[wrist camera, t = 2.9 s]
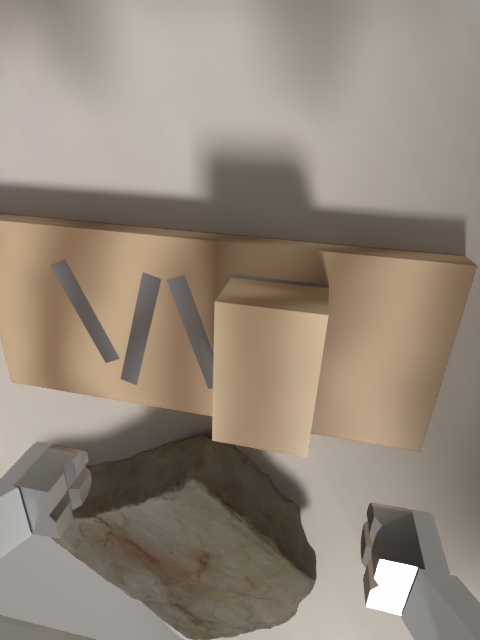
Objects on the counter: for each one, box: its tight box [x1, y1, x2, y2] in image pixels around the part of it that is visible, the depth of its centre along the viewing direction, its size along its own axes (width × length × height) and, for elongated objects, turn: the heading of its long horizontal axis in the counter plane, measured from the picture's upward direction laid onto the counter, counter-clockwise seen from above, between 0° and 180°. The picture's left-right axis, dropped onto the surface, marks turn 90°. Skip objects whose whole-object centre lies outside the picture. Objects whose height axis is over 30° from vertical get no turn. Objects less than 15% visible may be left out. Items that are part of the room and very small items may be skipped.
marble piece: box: [51, 436, 316, 640], centre depth 27 cm, size 17×15×4 cm
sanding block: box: [212, 275, 329, 458], centre depth 18 cm, size 4×7×4 cm, turn 178°
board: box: [0, 214, 477, 452], centre depth 21 cm, size 24×10×2 cm, turn 88°
